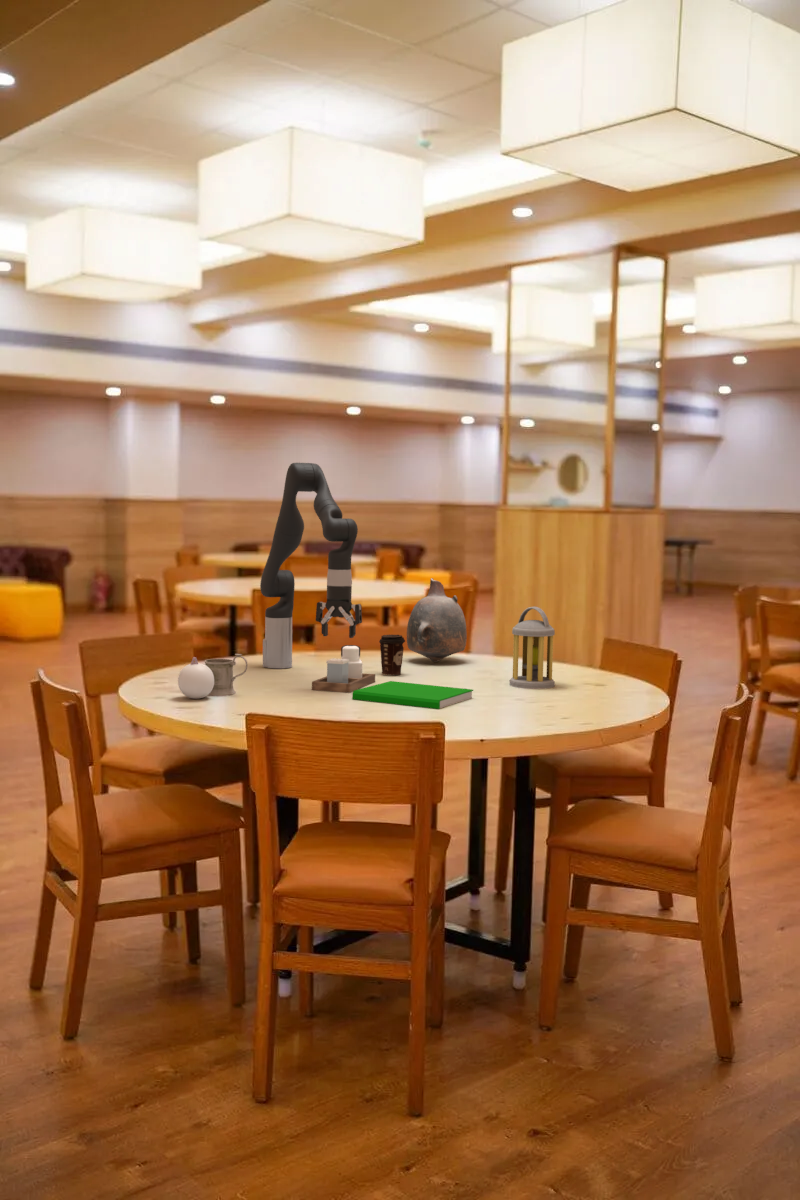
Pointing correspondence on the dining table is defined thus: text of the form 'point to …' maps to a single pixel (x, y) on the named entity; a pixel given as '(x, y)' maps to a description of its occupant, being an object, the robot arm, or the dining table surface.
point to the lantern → (533, 652)
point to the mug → (223, 675)
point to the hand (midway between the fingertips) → (338, 636)
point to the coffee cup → (391, 654)
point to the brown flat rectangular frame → (343, 684)
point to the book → (412, 694)
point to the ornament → (196, 680)
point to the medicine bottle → (352, 660)
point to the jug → (436, 625)
